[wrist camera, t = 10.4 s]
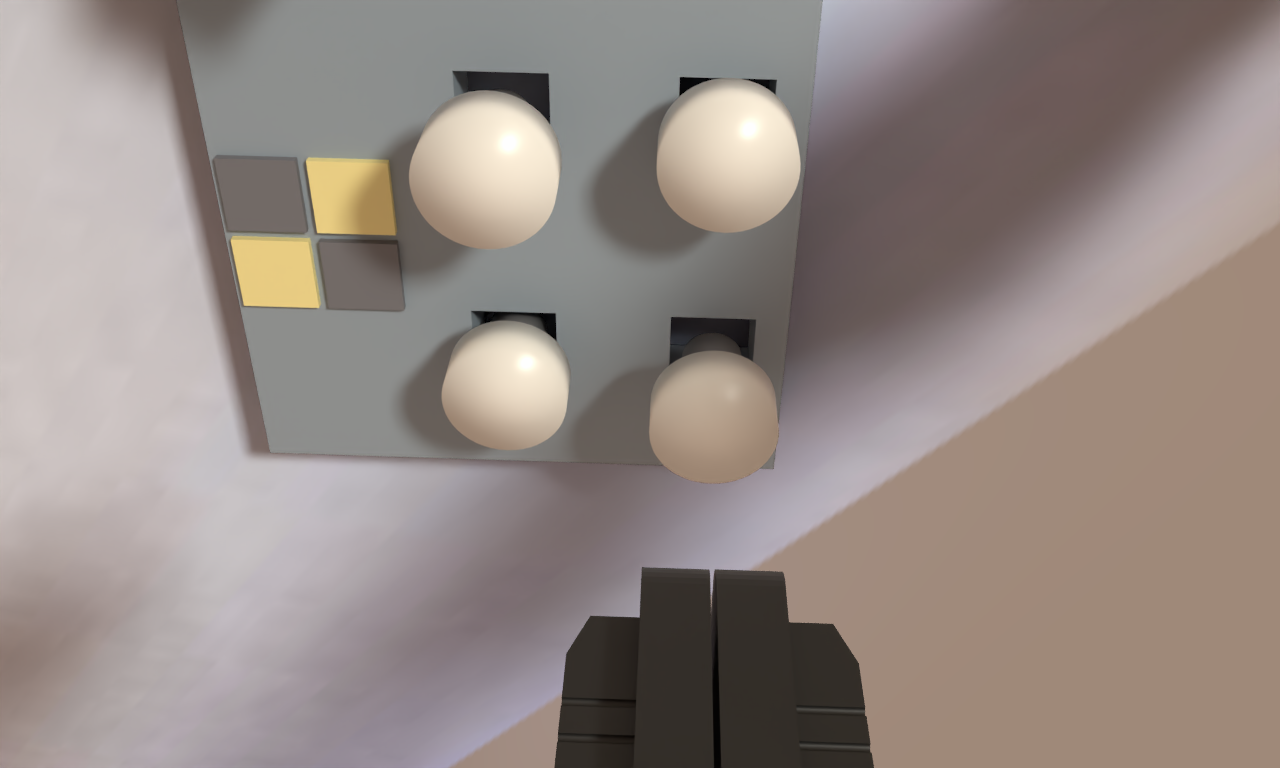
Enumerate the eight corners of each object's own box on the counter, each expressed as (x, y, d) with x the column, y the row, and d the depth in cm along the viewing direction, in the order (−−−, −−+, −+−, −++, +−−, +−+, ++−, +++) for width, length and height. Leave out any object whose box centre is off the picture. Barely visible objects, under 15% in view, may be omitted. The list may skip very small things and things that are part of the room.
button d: (575, 281, 50) (565, 351, 46) (577, 378, 52) (567, 452, 48) (457, 278, 50) (436, 347, 46) (464, 374, 52) (446, 448, 48)
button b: (776, 309, 48) (784, 384, 44) (766, 406, 51) (773, 485, 47) (653, 305, 48) (650, 380, 44) (651, 402, 51) (648, 481, 47)
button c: (567, 58, 42) (554, 117, 38) (569, 183, 45) (558, 251, 41) (429, 54, 42) (401, 113, 38) (440, 179, 45) (416, 247, 41)
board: (819, -71, 43) (828, -41, 40) (770, 426, 56) (774, 473, 53) (192, -87, 43) (160, -59, 41) (288, 410, 56) (268, 457, 53)
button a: (796, 46, 44) (807, 103, 40) (784, 170, 46) (794, 234, 42) (661, 43, 44) (658, 99, 40) (657, 166, 46) (655, 230, 42)
